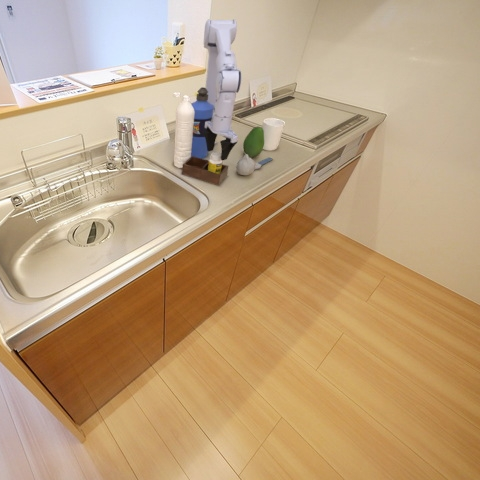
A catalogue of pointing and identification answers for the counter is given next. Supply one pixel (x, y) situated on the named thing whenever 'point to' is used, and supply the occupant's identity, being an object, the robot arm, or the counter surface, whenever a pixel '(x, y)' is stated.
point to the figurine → (245, 165)
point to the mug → (272, 133)
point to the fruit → (254, 142)
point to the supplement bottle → (215, 162)
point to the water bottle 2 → (201, 123)
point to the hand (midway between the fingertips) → (216, 154)
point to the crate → (203, 170)
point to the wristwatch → (260, 163)
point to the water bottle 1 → (183, 131)
